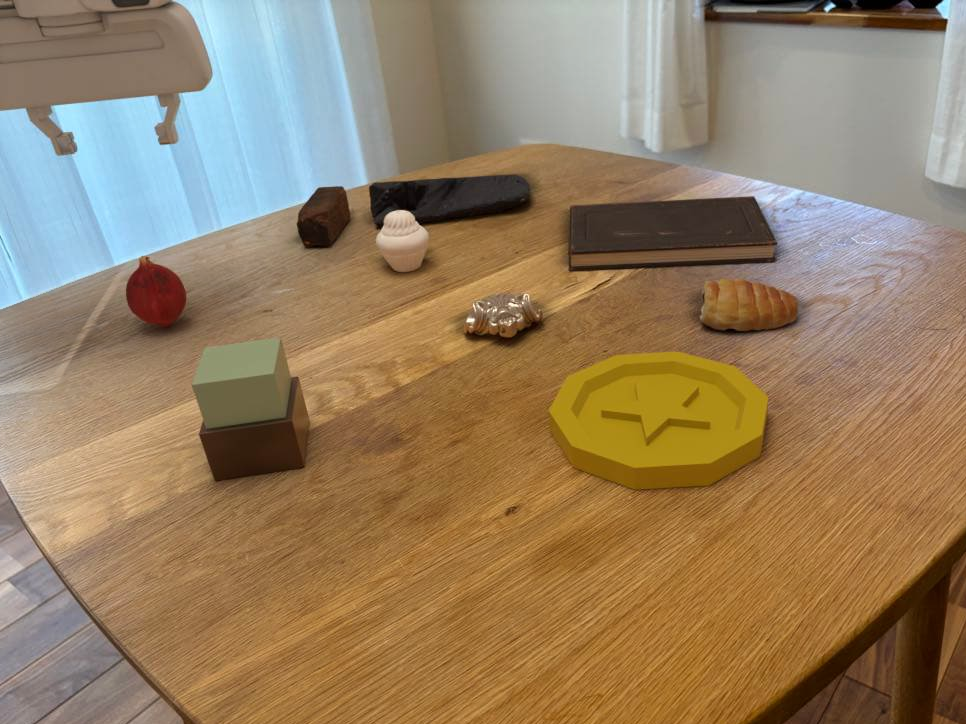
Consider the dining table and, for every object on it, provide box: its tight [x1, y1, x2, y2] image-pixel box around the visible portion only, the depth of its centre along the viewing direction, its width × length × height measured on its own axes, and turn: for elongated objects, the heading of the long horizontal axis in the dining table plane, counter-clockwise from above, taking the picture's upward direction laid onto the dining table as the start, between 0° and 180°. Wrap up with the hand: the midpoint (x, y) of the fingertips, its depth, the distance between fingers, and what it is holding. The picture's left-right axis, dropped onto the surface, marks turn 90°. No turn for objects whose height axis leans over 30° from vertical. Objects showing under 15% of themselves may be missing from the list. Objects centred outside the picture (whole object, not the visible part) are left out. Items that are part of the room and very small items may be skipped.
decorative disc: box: [548, 350, 770, 491], centre depth 69 cm, size 17×18×2 cm
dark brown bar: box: [296, 185, 351, 248], centre depth 112 cm, size 11×4×5 cm, turn 177°
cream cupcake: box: [375, 210, 430, 273], centre depth 100 cm, size 6×6×7 cm
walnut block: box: [198, 375, 311, 482], centre depth 70 cm, size 7×7×4 cm
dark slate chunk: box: [368, 173, 531, 227], centre depth 118 cm, size 15×22×5 cm
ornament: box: [462, 292, 544, 338], centre depth 85 cm, size 8×7×4 cm
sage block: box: [191, 336, 292, 429], centre depth 67 cm, size 6×6×4 cm
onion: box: [125, 255, 187, 329], centre depth 90 cm, size 6×6×8 cm
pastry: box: [699, 277, 799, 332], centre depth 83 cm, size 9×7×4 cm
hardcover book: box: [567, 195, 778, 272], centre depth 102 cm, size 16×23×2 cm
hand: (119, 148), depth 82 cm, fingers open, 8 cm apart
